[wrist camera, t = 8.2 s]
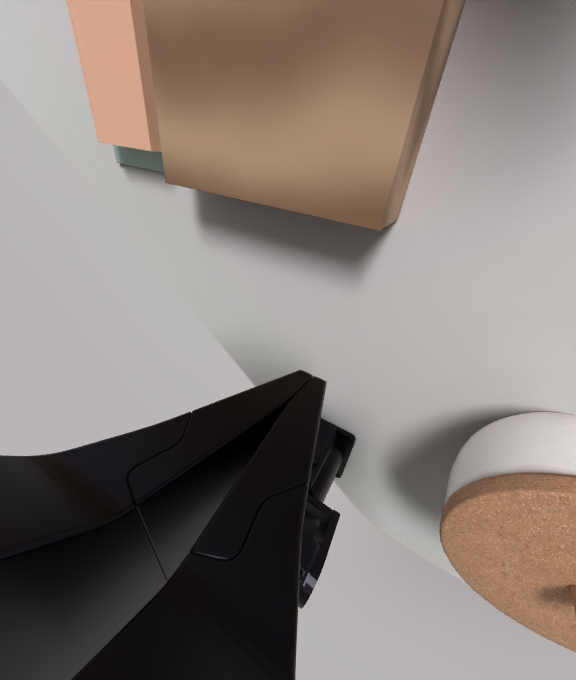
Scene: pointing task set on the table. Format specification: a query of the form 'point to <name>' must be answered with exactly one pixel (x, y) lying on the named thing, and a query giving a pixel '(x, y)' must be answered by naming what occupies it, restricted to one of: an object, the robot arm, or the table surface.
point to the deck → (298, 98)
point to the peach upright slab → (117, 71)
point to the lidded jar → (518, 520)
